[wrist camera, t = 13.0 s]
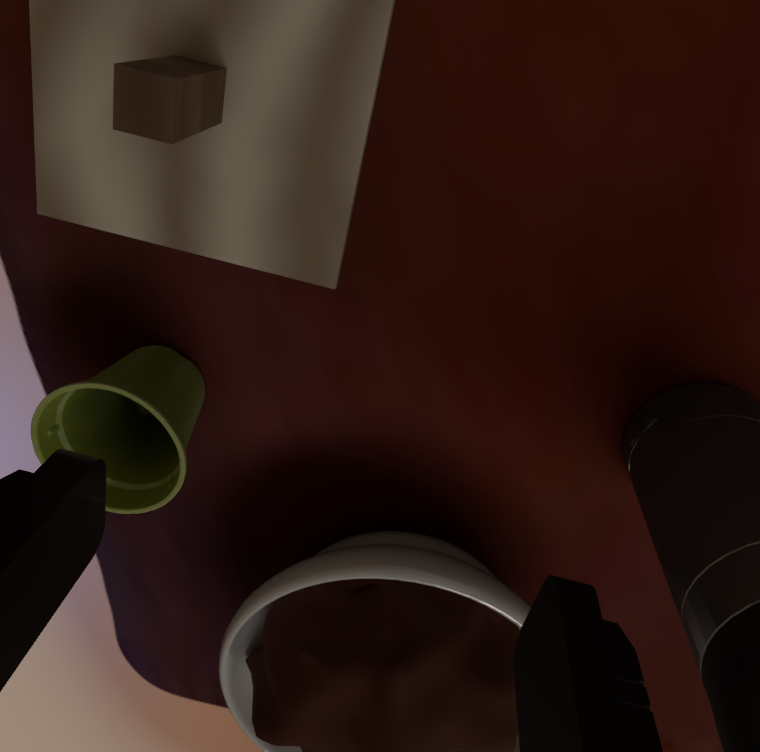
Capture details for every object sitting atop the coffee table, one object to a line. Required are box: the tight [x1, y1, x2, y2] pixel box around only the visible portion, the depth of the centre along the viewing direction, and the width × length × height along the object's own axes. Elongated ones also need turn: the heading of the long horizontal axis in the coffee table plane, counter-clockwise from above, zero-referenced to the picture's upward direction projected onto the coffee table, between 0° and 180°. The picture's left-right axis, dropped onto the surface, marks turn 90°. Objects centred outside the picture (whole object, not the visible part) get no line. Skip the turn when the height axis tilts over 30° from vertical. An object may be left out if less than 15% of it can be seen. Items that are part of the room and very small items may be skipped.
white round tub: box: [219, 531, 531, 752], centre depth 48 cm, size 25×25×15 cm
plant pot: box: [31, 345, 205, 514], centre depth 43 cm, size 9×9×9 cm
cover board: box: [29, 0, 395, 289], centre depth 28 cm, size 16×16×7 cm
